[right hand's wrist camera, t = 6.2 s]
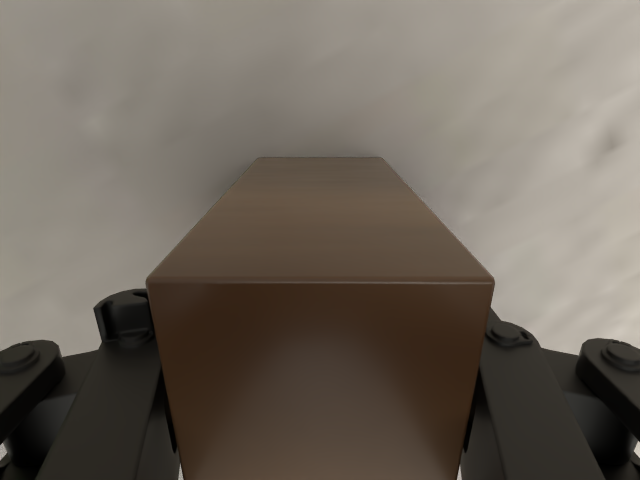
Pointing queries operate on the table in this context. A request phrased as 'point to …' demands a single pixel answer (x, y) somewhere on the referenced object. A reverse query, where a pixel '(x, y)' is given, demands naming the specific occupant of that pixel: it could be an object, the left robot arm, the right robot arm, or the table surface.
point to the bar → (320, 329)
